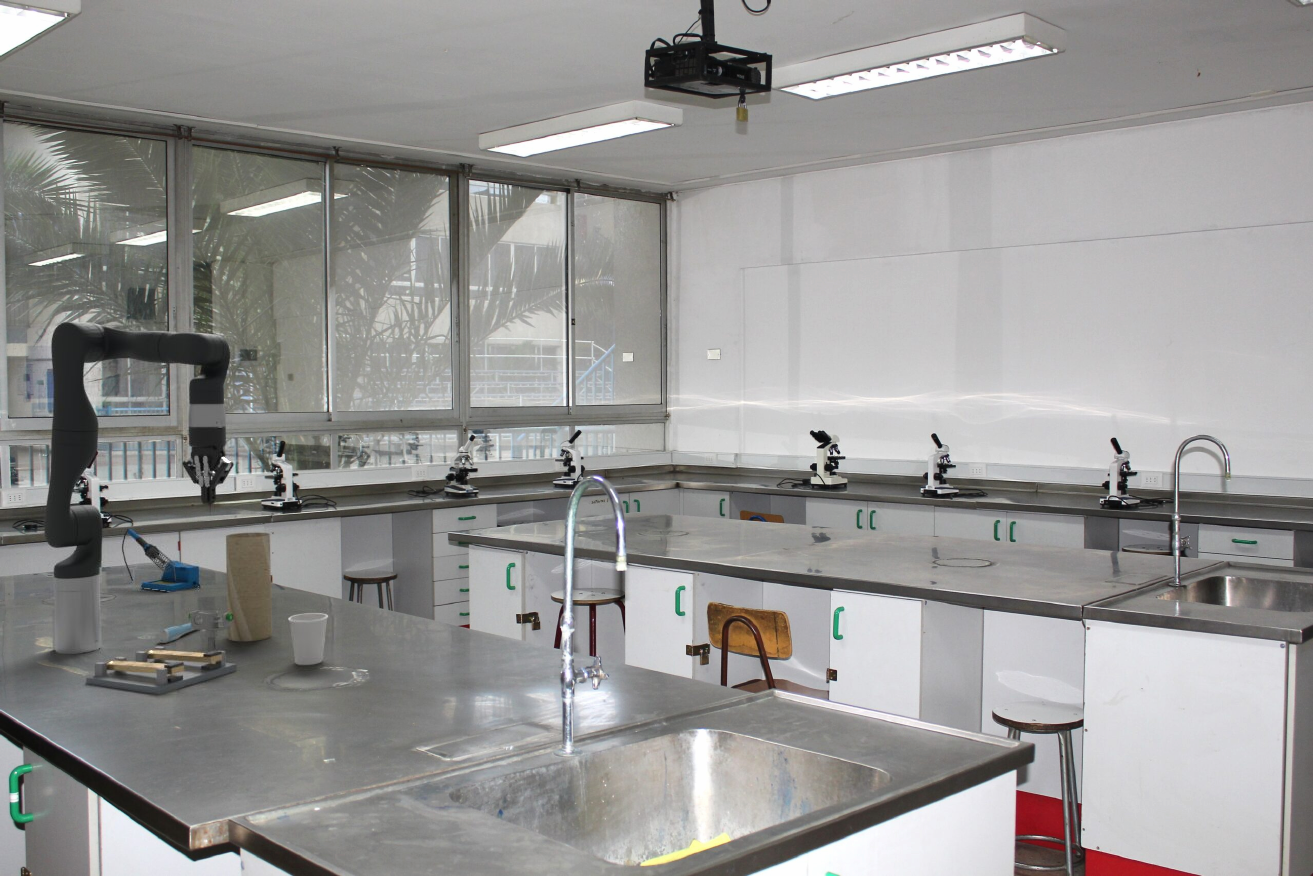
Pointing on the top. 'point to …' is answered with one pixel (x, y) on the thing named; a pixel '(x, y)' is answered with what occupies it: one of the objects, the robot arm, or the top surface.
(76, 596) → the robot arm
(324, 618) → the dixie cup
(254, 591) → the tube
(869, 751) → the top surface
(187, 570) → the soldering iron
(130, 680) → the mount plate
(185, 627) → the 3d printing pen
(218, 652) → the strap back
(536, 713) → the top surface
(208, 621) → the mechanical component
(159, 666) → the strap front
